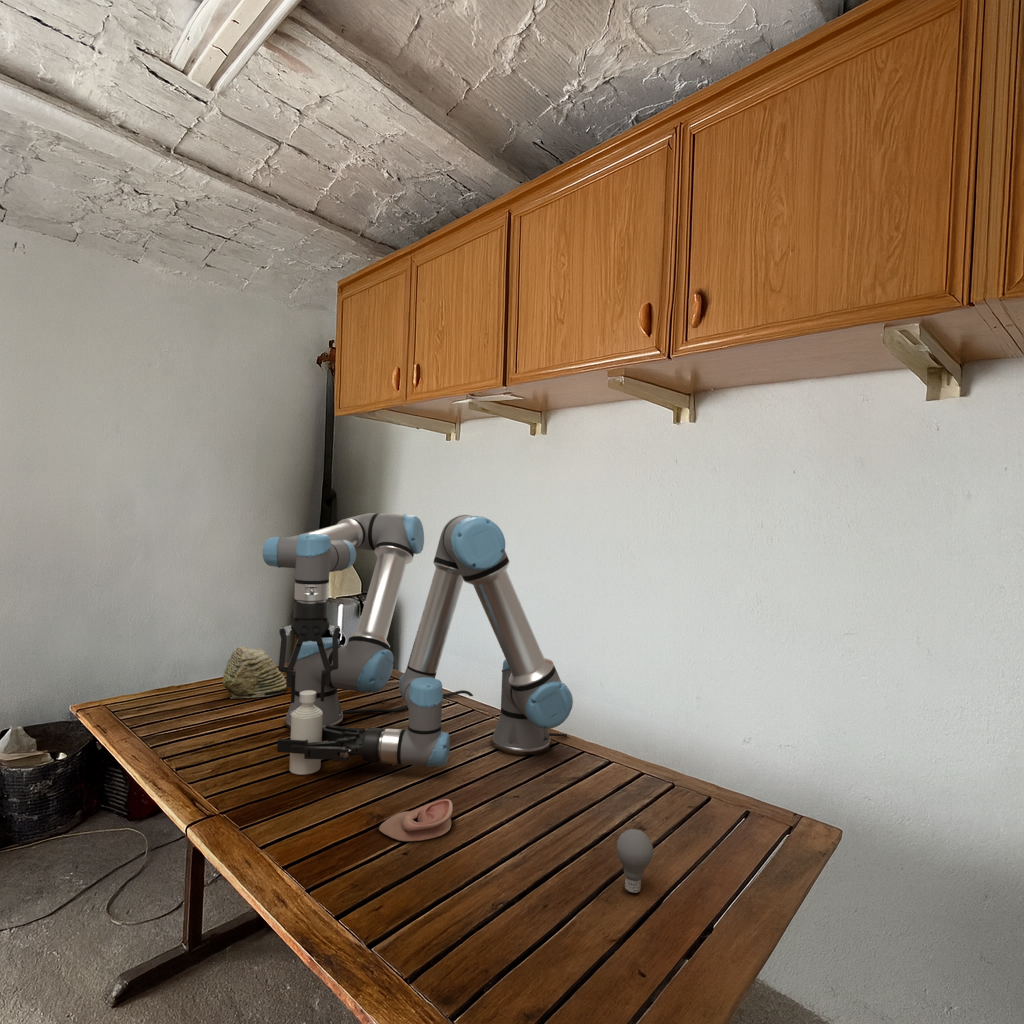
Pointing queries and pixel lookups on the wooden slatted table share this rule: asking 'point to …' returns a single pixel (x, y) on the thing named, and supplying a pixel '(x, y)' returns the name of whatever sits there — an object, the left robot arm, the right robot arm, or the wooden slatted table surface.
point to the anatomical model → (420, 822)
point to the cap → (307, 696)
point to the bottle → (305, 736)
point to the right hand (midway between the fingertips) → (285, 739)
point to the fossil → (252, 674)
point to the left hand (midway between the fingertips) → (307, 700)
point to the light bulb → (634, 857)
